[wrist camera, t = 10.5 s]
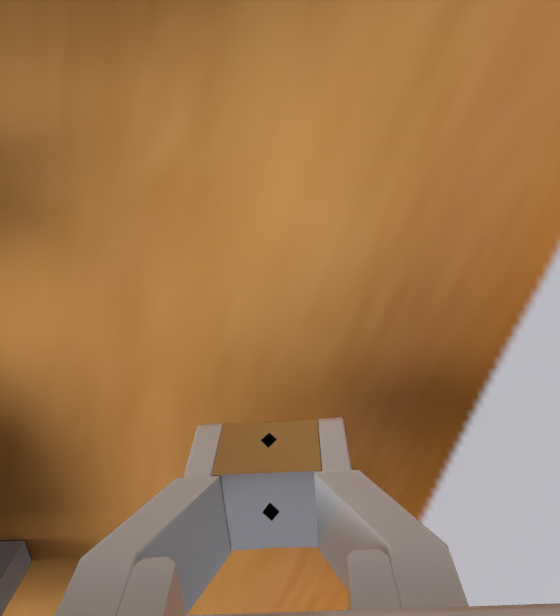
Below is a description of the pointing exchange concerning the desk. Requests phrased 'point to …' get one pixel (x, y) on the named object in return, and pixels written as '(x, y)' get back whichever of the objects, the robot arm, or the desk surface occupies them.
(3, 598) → the box
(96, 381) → the desk surface
